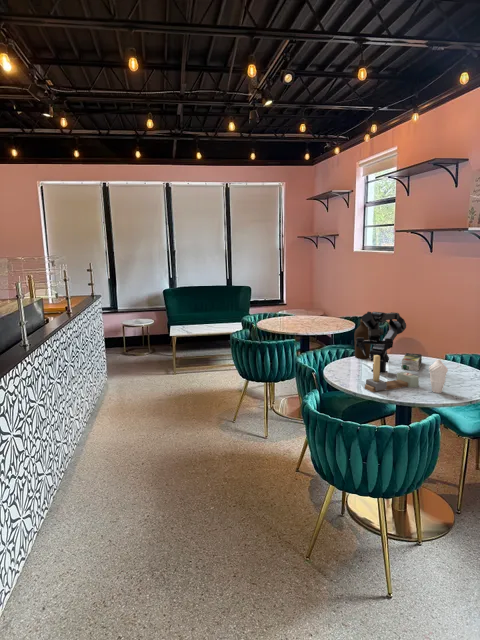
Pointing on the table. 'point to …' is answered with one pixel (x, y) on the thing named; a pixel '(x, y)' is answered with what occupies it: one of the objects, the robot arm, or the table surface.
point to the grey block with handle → (376, 376)
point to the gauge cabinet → (408, 379)
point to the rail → (389, 385)
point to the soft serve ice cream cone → (437, 376)
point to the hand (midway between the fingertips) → (374, 356)
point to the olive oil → (363, 333)
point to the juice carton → (411, 361)
